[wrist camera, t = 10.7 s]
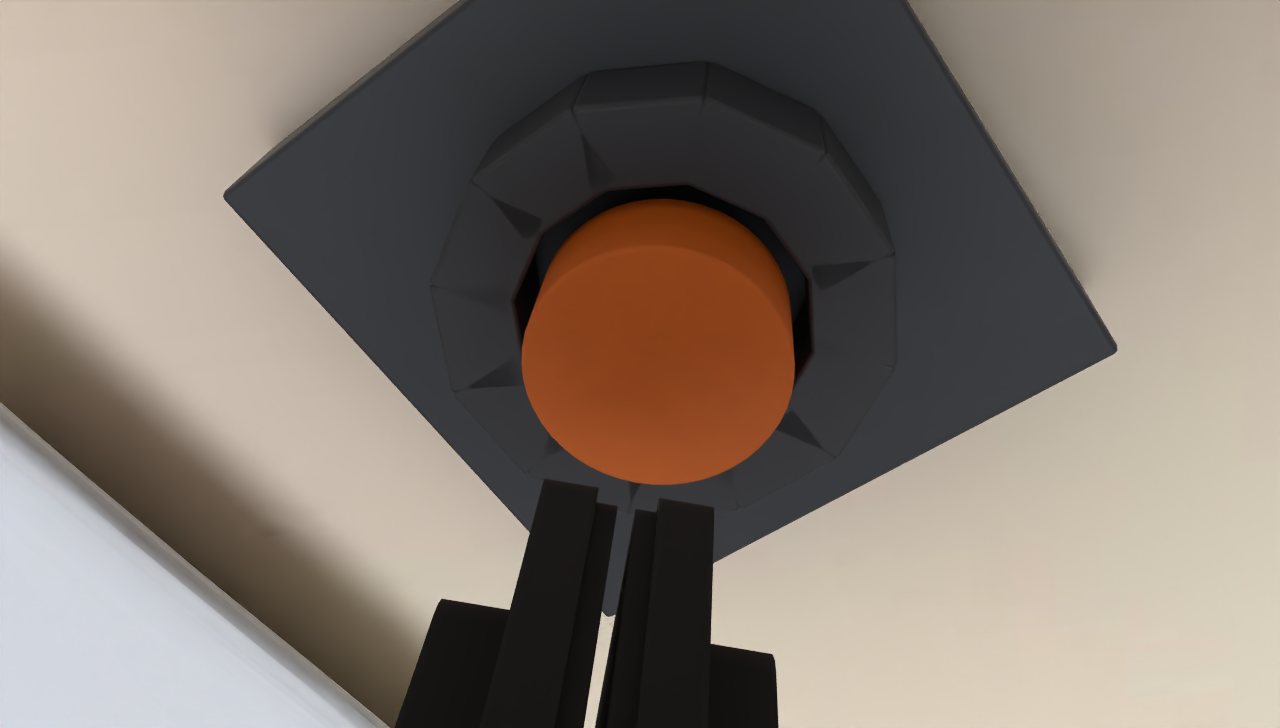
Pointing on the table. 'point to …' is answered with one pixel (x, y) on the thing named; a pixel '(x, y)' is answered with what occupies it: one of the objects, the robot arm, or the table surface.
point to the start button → (660, 343)
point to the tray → (129, 620)
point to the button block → (691, 171)
